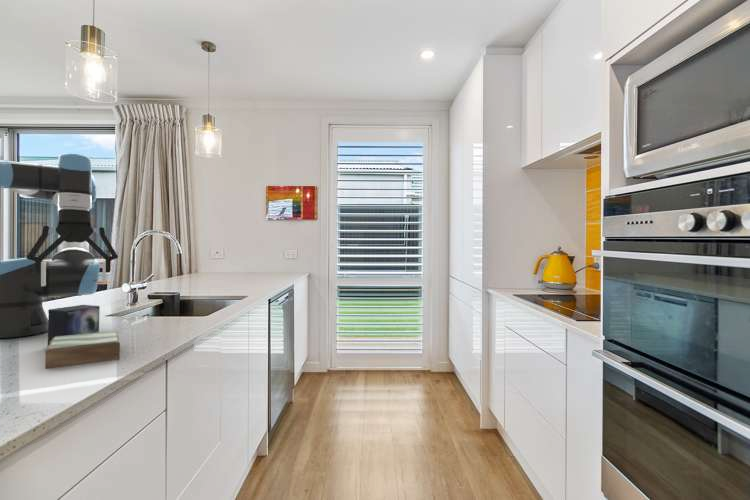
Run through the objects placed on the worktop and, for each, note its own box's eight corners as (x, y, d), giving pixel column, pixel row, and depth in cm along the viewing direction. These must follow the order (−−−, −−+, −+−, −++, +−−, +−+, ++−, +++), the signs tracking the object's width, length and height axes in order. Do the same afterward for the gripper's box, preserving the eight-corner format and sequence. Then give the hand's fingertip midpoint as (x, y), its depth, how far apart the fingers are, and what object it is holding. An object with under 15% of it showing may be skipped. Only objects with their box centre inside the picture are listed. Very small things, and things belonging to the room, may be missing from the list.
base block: (52, 352, 101) (52, 336, 101) (117, 345, 109) (117, 330, 109) (45, 368, 88) (45, 349, 88) (119, 358, 96) (119, 341, 96)
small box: (65, 349, 105) (65, 310, 105) (46, 348, 106) (46, 309, 106) (100, 340, 115) (100, 305, 115) (82, 339, 117) (82, 304, 117)
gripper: (13, 205, 101) (12, 288, 101) (127, 211, 115) (127, 283, 115) (18, 208, 107) (18, 286, 107) (126, 213, 121) (126, 282, 121)
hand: (74, 284), depth 111 cm, fingers open, 13 cm apart
